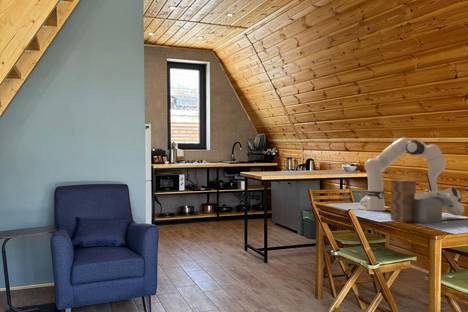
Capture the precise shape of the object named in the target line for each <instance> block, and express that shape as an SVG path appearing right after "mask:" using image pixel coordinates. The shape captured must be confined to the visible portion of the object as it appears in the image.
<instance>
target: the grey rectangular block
mask: <svg viewBox="0 0 468 312" xmlns="http://www.w3.org/2000/svg"><path fill="white" fill-rule="evenodd" d="M439 195H440V194H438V193H437V192H427V193H425V192H416V193H414V199H418V200H420V199H433V198H438V196H439Z"/></svg>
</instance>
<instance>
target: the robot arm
mask: <svg viewBox="0 0 468 312" xmlns="http://www.w3.org/2000/svg"><path fill="white" fill-rule="evenodd" d="M406 153H407V154H409V155H411V156H414V157H424V159H425V160H426V163H427V166H428V167H427V168H428V170H427V171H426V178H427V182H428V187H429V189H427V188H426V189H425V190H424V193H427V192H437V193H438V194H440V195H439V196H438V198H441V199H442V209H444V210H446V211H447V212H449V214H451V215H453V216H460V215H461V214H463V213H464V211H465V207H464V206H463V204H462V193H461V191H460V190H459V189H458V188H457V187H453V186H451V187H449V188H446V189H444V190H439V189H438V184H437V178H438V177H439V175H441V173H442V172H443V171H444V170H445V169H446V166H447V161H446V159H445V157H444V155H443V153H442V151H441V149H440V148H439V147H438V145H436V144H434V143H433V144H432V143H431V144H429V145H428V144H427V143H426V142H425V141H422V140H418V139H417V140H416V139H412V140H411V139H410V140H409V138H407V137H401V138H398V139H397V140H394V141H393V142H392V143H391V144H390V145H388V146H387V147H386V148H384V149H383V150H382V151H381V152H380V153H379V154H378V155H377V156H376V157H371V158H369V159H367V160H366V161H365V162H364V170H365V171H366V176H367V191H365V194H366V195H365V196H363V197H362V198H361V199H360V200H359V205H357V206H356V209H360V210H365V211H380V212H381V211H386V206H385V198H384V197H385V192H384V178H383V175H382V172H384V171H385V170H386V169H387V168H389V166H390V165H392V164H393V162H395V161H396V160H398V159H399V158H400V157H402V156H403V155H404V154H406Z"/></svg>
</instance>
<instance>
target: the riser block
mask: <svg viewBox="0 0 468 312" xmlns="http://www.w3.org/2000/svg"><path fill="white" fill-rule="evenodd" d="M413 221H414V222H413ZM413 221H412V222H413V223H419V224H424V225H428V224H429V225H430V224H439V223H443V207H442V199H441V198H433V199H420V200H418V199H414V198H413Z"/></svg>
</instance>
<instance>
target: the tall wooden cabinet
mask: <svg viewBox="0 0 468 312" xmlns="http://www.w3.org/2000/svg"><path fill="white" fill-rule="evenodd" d="M389 181H390V190H391V191H390V220H391V221H396V222H401V223H406V222H407V221H408V222H413V198H414V193H417V191H416V189H417V187H416V185H417V183H416V182H417V180H414V179H390V180H389ZM408 222H407V223H408Z"/></svg>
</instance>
